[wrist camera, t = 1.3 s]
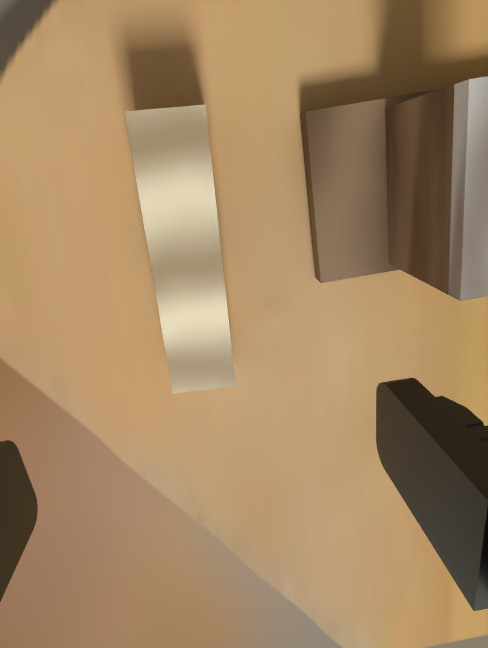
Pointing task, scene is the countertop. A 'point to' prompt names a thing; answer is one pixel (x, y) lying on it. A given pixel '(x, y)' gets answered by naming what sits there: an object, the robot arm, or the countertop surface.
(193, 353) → the pale gold metallic bar
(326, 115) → the balance stand
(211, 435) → the countertop surface
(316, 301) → the countertop surface
